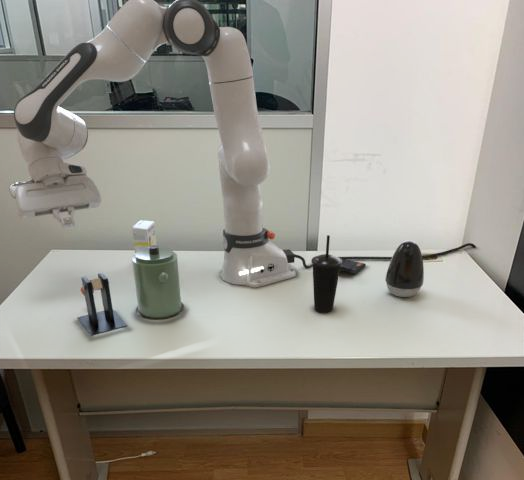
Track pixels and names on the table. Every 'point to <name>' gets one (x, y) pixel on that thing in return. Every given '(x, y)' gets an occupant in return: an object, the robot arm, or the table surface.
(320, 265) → the drinking cup
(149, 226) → the ink box
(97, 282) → the switch lever
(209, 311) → the table surface
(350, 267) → the calculator
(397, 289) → the black egg-shaped device
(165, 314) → the green canister
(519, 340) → the table surface
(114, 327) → the switch bracket
